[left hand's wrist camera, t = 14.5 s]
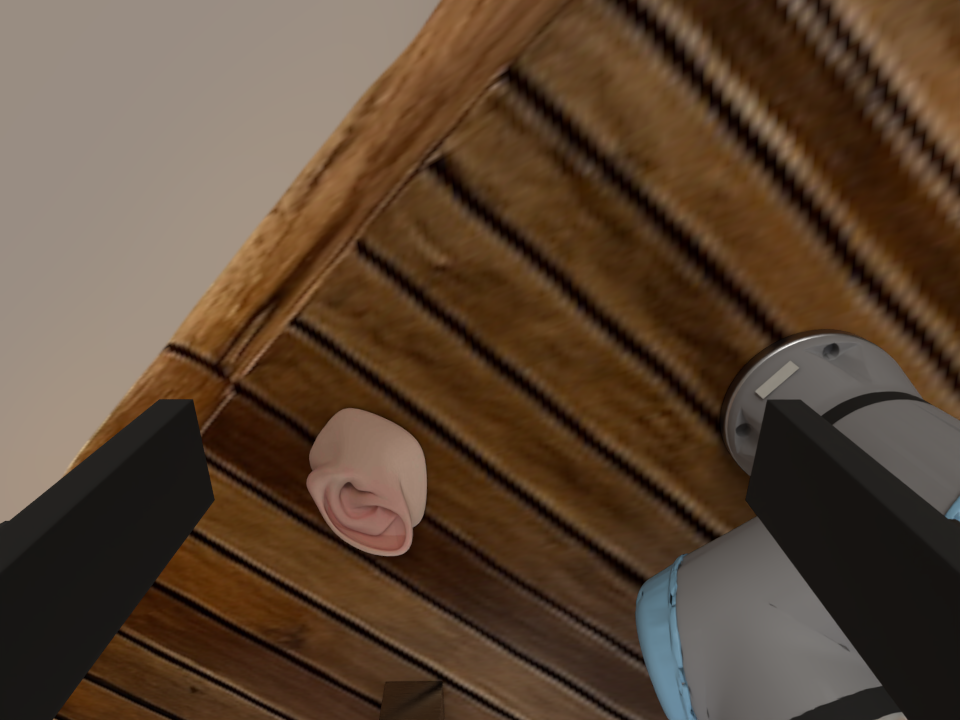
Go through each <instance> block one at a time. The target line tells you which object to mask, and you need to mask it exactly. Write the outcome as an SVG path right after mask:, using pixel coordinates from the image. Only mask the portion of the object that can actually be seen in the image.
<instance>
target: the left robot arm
mask: <svg viewBox="0 0 960 720" xmlns="http://www.w3.org/2000/svg"><path fill="white" fill-rule="evenodd" d="M720 426H721V434H722V438H723V441H724V443H725V446H726V448H727V450H728V452H729V453H730V454H731V456H732V457H733V459H734V460H735V461H736V462H737V464H738V465H739V466H740V467H741V468H742V469H743V470H744V471H745V472H746V473H747V474H748V475H750V481H749V486H748V490H747V495H746V501H747V503H748V504H749V506H750V507H751V508H752V510H753V511H754V512H755V514H756V515H757V516H756V517H754V518H753V519H751V520H749V521H747V522H746V523H744V524H742V525H740V526H739V527H737V528H735V529H733V530H732V531H730V532H728V533H726V534H724V535H722V536H721V537H719V538H717V539H715V540H713V541H711V542H710V543H708V544H706V545H704V546H702V547H700V548H698V549H697V550H695V551H693V552H691V553H689V554H683V555H681V556H679V557H678V558H677V559H676V561H675V562H674V563H673V564H672V565H670V566H669V567H667V568H666V569H664V570H663V571H661V572H659V573H658V574H656V575H655V576H653V577H651V578H650V579H649V580H647V581H646V582H645V583H644V584H643V585H642V587H641V589H640V591H639V593H638V597H637V600H636V612H635V616H636V626H637V633H638V638H639V642H640V647H641V651H642V654H643V658H644V661H645V664H646V667H647V670H648V673H649V676H650V679H651V682H652V684H653V687H654V689H655V692H656V694H657V697H658V699H659V701H660V704H661V706H662V708H663V710H664V712H665V714H666V716H667V718H668V719H669V720H960V421H959V420H958V419H956V418H954V417H952V416H951V415H949V414H947V413H945V412H944V411H942V410H940V409H938V408H937V407H935V406H933V405H931V404H930V403H928V402H926V401H925V400H923V398H922V397H921V396H920V394H919V393H918V391H917V390H916V389H915V387H914V386H913V384H912V383H911V382H910V380H909V379H908V377H907V376H906V375H905V373H904V372H903V370H902V369H901V368H900V366H899V365H898V364H897V362H896V361H895V360H894V359H893V358H892V357H891V356H889V355H888V354H887V353H886V352H885V351H884V350H883V349H881V348H880V347H878V346H877V345H875V344H873V343H871V342H869V341H868V340H866V339H864V338H862V337H860V336H857V335H855V334H852V333H849V332H845V331H839V330H827V329H823V330H812V331H806V332H801V333H797V334H794V335H791V336H788V337H786V338H784V339H781V340H779V341H777V342H775V343H773V344H771V345H770V346H768V347H767V348H765V349H763V350H762V351H761V352H759V353H758V354H757V355H755V356H754V357H753V358H752V359H751V360H750V361H749V362H748V363H747V364H746V365H745V366H744V367H743V368H742V369H741V370H740V372H739V373H738V374H737V376H736V377H735V379H734V380H733V382H732V383H731V385H730V387H729V389H728V391H727V393H726V396H725V398H724V401H723V405H722V409H721V417H720ZM213 501H214V495H213V490H212V486H211V481H210V476H209V472H208V467H207V462H206V458H205V453H204V448H203V444H202V439H201V435H200V430H199V425H198V421H197V416H196V411H195V407H194V402H193V399H159V400H158V401H157V402H156V403H154V404H153V405H152V406H151V407H150V408H148V409H147V410H146V411H145V412H143V413H142V414H141V415H140V416H138V417H137V418H136V419H135V420H133V421H132V422H131V423H130V424H128V425H127V426H126V427H125V428H124V429H122V430H121V431H120V432H119V433H117V434H116V435H115V436H114V437H112V438H111V439H110V440H109V441H107V442H106V443H105V444H104V445H103V446H101V447H100V448H99V449H98V450H96V451H95V452H94V453H93V454H91V455H90V456H89V457H88V458H86V459H85V460H84V461H83V462H82V463H80V464H79V465H78V466H77V467H75V468H74V469H73V470H72V471H70V472H69V473H68V474H67V475H65V476H64V477H63V478H62V479H61V480H59V481H58V482H57V483H56V484H54V485H53V486H52V487H51V488H49V489H48V490H47V491H46V492H44V493H43V494H42V495H41V496H40V497H38V498H37V499H36V500H35V501H33V502H32V503H31V504H30V505H28V506H27V507H26V508H25V509H23V510H22V511H21V512H20V513H18V514H17V515H16V516H15V517H14V518H12V519H11V520H10V521H4V522H3V523H1V524H0V720H53V718H54V717H55V716H56V714H57V713H58V712H59V710H60V709H61V708H62V706H63V705H64V703H65V702H66V701H67V699H68V698H69V697H70V695H71V694H72V693H73V691H74V690H75V689H76V687H77V686H78V685H79V683H80V682H81V680H82V679H83V678H84V676H85V675H86V674H87V672H88V671H89V670H90V668H91V667H92V666H93V664H94V663H95V661H96V660H97V659H98V657H99V656H100V655H101V653H102V652H103V651H104V649H105V648H106V647H107V645H108V644H109V642H110V641H111V640H112V638H113V637H114V636H115V634H116V633H117V632H118V630H119V629H120V628H121V626H122V625H123V624H124V622H125V621H126V619H127V618H128V617H129V615H130V614H131V613H132V611H133V610H134V609H135V607H136V606H137V605H138V603H139V602H140V600H141V599H142V598H143V596H144V595H145V594H146V592H147V591H148V590H149V588H150V587H151V586H152V584H153V583H154V581H155V580H156V579H157V577H158V576H159V575H160V573H161V572H162V571H163V569H164V568H165V567H166V565H167V564H168V562H169V561H170V560H171V558H172V557H173V556H174V554H175V553H176V552H177V550H178V549H179V548H180V546H181V545H182V544H183V542H184V541H185V539H186V538H187V537H188V535H189V534H190V533H191V531H192V530H193V529H194V527H195V526H196V525H197V523H198V522H199V520H200V519H201V518H202V516H203V515H204V514H205V512H206V511H207V510H208V508H209V507H210V506H211V504H212V503H213Z"/></svg>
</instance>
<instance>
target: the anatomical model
mask: <svg viewBox="0 0 960 720" xmlns="http://www.w3.org/2000/svg"><path fill="white" fill-rule="evenodd" d="M309 460H310V465H311V468H312V470H313V471H312V472H311V473H310V474H309V476H308V478H307V488H308V490H309V492H310V494H311V496H312V497H313V499H314V501H315V503H316V505H317V507H318V508H319V510H320V512H321V514H322V516H323V517H324V519H325V521H326V522H327V524H328V525H329V526H330V528H331V529H332V530H333V531H334V532H335V533H336V534H337V535H338V536H339V537H340V538H341V539H343V540H344V541H346V542H347V543H349V544H350V545H352V546H354V547H356V548H358V549H360V550H362V551H365V552H368V553H371V554H375V555H382V556H397V555H401V554H403V553H405V552H406V551H407V550H408V549H409V547H410V546H411V543H412V537H413V527H414V526H416V525H417V524H418V523H419V522H420V521H421V519H422V517H423V515H424V510H425V505H426V494H427V474H426V464H425V458H424V454H423V451H422V448H421V446H420V445H419V443H418V442H417V440H416V439H415V438H414V437H413V436H412V435H411V434H410V433H409V432H407V431H406V430H404V429H403V428H402V427H400V426H398V425H397V424H395V423H393V422H391V421H389V420H387V419H385V418H383V417H380V416H378V415H375V414H373V413H370V412H367V411H364V410H360V409H355V408H347V409H343V410H341V411H339V412H338V413H336V414H335V415H334V416H333V417H332V418H331V419H330V420H329V422H328V423H327V424H326V426H325V427H324V428H323V429H322V431H321V432H320V434H319V435H318V437H317V439H316V441H315V443H314V445H313V447H312V449H311V451H310V455H309Z"/></svg>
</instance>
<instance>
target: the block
mask: <svg viewBox="0 0 960 720" xmlns="http://www.w3.org/2000/svg"><path fill="white" fill-rule="evenodd" d="M379 720H444V702H443V684H442V682H386V683H385V688H384V694H383V700H382V706H381V712H380V717H379Z"/></svg>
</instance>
